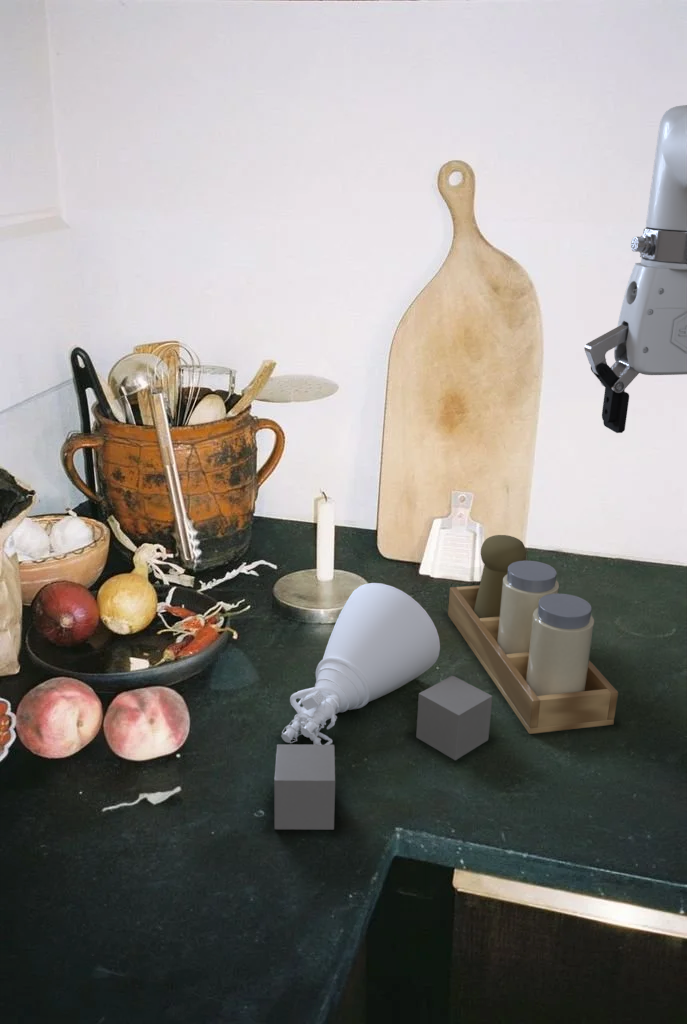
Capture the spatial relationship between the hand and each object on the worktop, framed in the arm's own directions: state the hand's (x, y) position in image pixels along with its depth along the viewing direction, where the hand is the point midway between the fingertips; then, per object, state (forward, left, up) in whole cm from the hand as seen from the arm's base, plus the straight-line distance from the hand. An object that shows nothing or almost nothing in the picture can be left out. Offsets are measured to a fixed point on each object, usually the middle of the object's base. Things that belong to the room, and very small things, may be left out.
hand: (658, 427), depth 93 cm
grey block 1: (-16, +38, -28) cm, 50 cm away
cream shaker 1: (+4, +10, -28) cm, 30 cm away
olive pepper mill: (+12, +10, -28) cm, 32 cm away
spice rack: (+4, +10, -28) cm, 30 cm away
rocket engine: (0, +32, -28) cm, 43 cm away
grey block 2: (-8, +22, -28) cm, 37 cm away
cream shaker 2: (-4, +10, -28) cm, 30 cm away
